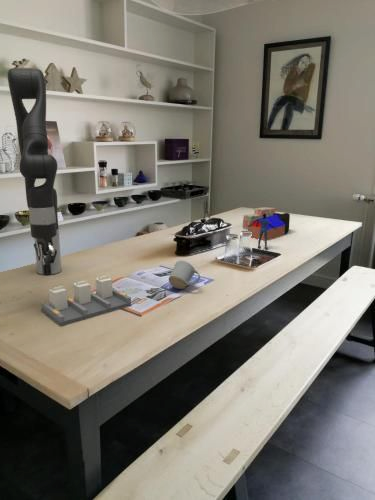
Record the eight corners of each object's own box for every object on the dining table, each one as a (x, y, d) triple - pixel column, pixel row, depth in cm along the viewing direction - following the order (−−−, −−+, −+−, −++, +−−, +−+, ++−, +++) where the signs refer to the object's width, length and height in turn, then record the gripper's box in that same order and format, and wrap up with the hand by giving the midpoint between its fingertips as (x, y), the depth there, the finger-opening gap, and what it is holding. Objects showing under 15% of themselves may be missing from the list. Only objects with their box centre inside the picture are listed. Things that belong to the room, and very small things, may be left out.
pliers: (210, 231, 244) (212, 197, 239) (211, 231, 243) (213, 197, 239) (201, 233, 236) (203, 198, 232) (202, 233, 236) (204, 198, 231)
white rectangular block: (96, 295, 140) (95, 276, 138) (106, 292, 142) (105, 273, 140) (102, 299, 137) (101, 279, 135) (112, 296, 139) (111, 276, 137)
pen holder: (280, 227, 244) (280, 211, 241) (293, 231, 237) (293, 214, 234) (269, 231, 240) (269, 214, 236) (281, 235, 232) (281, 217, 229)
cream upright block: (50, 307, 130) (48, 286, 128) (62, 304, 132) (60, 284, 130) (55, 311, 127) (53, 290, 125) (67, 308, 129) (66, 287, 127)
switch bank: (41, 310, 130) (40, 301, 129) (108, 293, 145) (108, 285, 144) (60, 326, 120) (60, 316, 119) (131, 305, 135) (130, 297, 134)
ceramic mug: (175, 291, 152) (162, 277, 149) (184, 275, 157) (172, 261, 154) (196, 288, 145) (183, 273, 141) (205, 271, 150) (193, 256, 146)
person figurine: (275, 250, 203) (278, 214, 199) (271, 252, 200) (273, 215, 195) (255, 246, 210) (257, 211, 205) (251, 248, 206) (253, 212, 201)
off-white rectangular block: (73, 301, 135) (72, 281, 133) (85, 298, 137) (84, 278, 135) (79, 305, 132) (78, 284, 130) (91, 301, 134) (90, 282, 132)
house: (246, 238, 227) (247, 217, 223) (266, 232, 241) (267, 213, 238) (265, 242, 219) (266, 220, 216) (284, 236, 233) (286, 215, 230)
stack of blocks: (249, 232, 242) (251, 211, 239) (242, 230, 247) (243, 209, 243) (274, 227, 254) (276, 208, 251) (266, 226, 259) (268, 206, 256)
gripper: (22, 219, 130) (27, 272, 134) (39, 226, 120) (43, 282, 125) (46, 217, 135) (50, 268, 139) (63, 223, 125) (67, 277, 129)
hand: (47, 275), depth 132 cm, fingers closed
